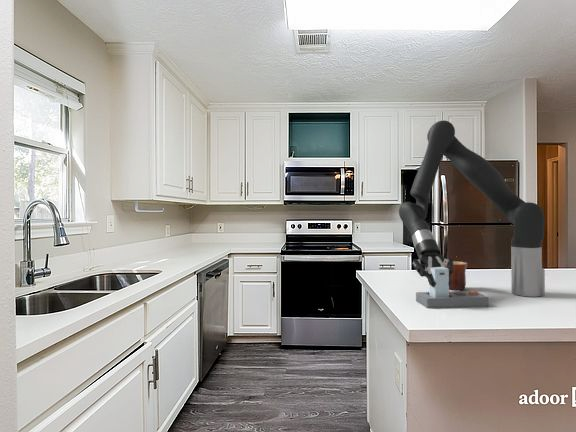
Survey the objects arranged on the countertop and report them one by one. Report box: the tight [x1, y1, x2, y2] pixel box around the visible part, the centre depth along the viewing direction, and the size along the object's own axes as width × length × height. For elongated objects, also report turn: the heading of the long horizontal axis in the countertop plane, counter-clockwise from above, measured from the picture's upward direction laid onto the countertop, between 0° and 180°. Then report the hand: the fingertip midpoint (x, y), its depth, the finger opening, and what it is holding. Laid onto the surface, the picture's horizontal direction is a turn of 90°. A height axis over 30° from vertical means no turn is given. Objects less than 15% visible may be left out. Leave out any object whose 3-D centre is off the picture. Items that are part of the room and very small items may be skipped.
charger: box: [428, 267, 450, 297], centre depth 118 cm, size 4×5×10 cm
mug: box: [443, 260, 468, 291], centre depth 141 cm, size 12×9×10 cm
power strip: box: [415, 290, 490, 309], centre depth 119 cm, size 20×9×4 cm, turn 92°
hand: (441, 285), depth 117 cm, fingers closed on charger, 4 cm apart
